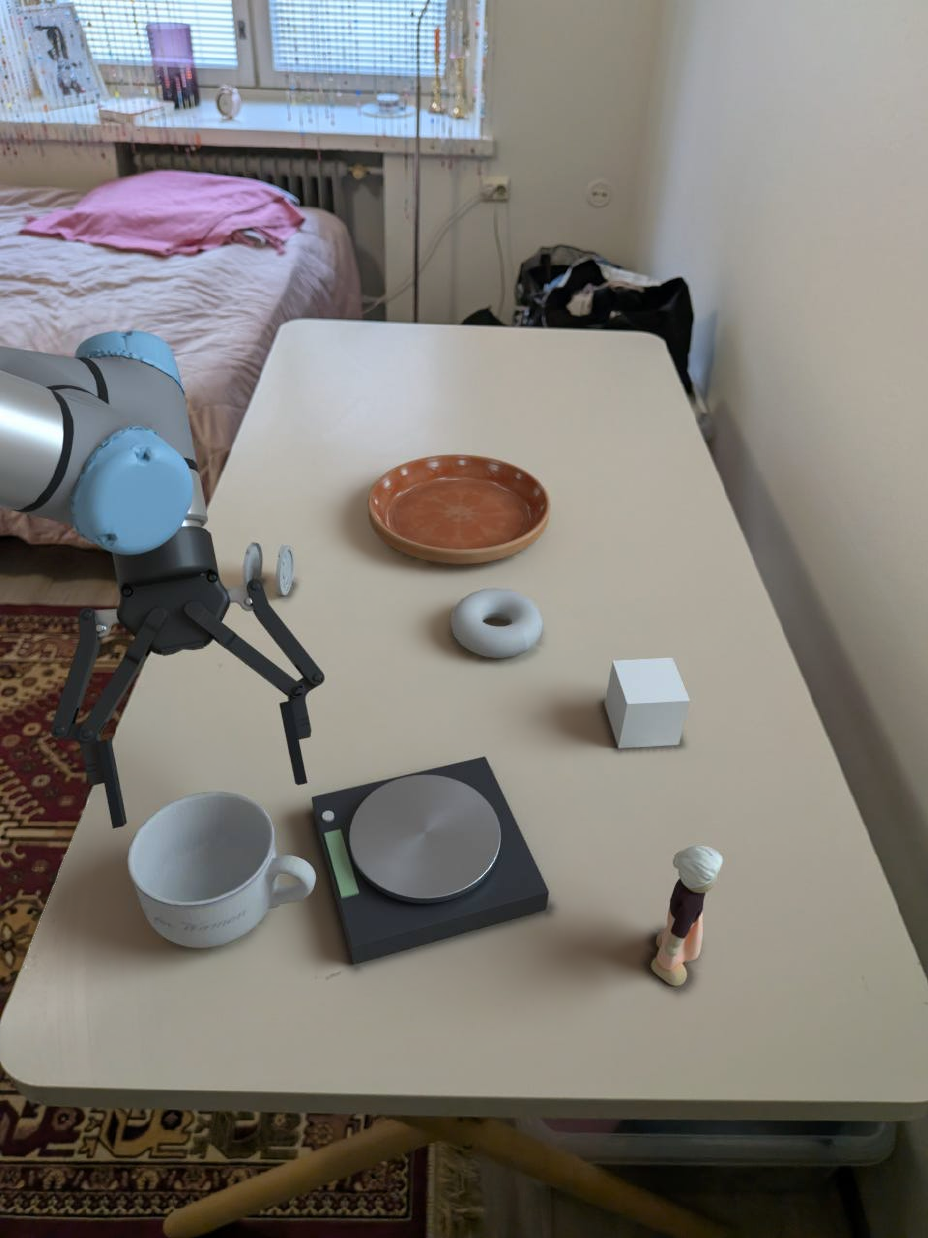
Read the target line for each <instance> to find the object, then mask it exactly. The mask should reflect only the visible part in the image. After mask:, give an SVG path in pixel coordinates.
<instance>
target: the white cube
mask: <svg viewBox="0 0 928 1238" xmlns="http://www.w3.org/2000/svg"><path fill="white" fill-rule="evenodd" d="M606 689H607V690H606V695H605V699H604V706H605V710H606V713H607V716H608V720H609V723H610V726H611V731H612V733H613V735H614V739H615V742H616V745H617V748H618V749H630V748H648V747H650V748H651V747H664V746H665V747H666V746H679V745H680V742H681V737H682V734H683V730H684V726H685V722H686V719H687V715H688V710H689V707H690V704H691V699H690V696H689V693H688V692H687V690H686V687H685V685H684V682H683V680H682V677H681V675H680V672H679V670H678V668H677V665H676V662H675V660H674V658H673V657H659V658H657V657H656V658H639V659H637V658H636V659H635V658H634V659H621V660H620V659H619V660H618V659H615V660H612V661H611V668H610V672H609V678H608V684H607V688H606Z"/></svg>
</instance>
